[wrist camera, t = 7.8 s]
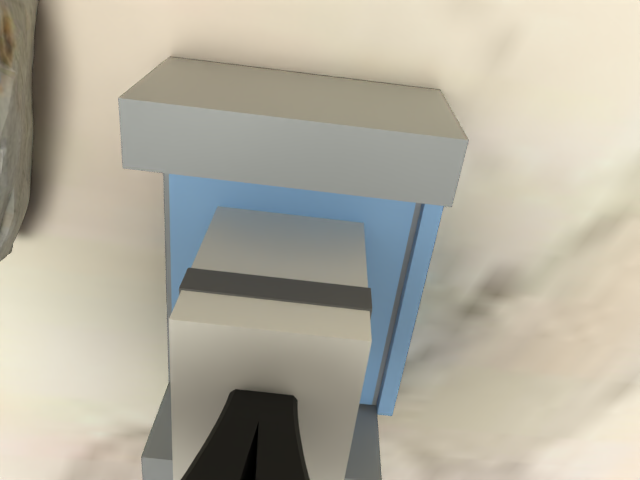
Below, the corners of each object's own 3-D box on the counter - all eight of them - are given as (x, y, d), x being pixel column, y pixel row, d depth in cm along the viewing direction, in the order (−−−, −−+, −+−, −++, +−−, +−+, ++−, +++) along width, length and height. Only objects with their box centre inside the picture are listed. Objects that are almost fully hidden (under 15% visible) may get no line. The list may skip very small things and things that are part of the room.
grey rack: (343, 583, 26) (344, 681, 23) (178, 566, 26) (154, 663, 22) (459, 92, 15) (493, 143, 11) (169, 56, 15) (117, 97, 11)
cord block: (341, 362, 18) (341, 504, 14) (212, 348, 18) (171, 486, 14) (365, 221, 16) (374, 339, 11) (215, 204, 15) (165, 317, 11)
